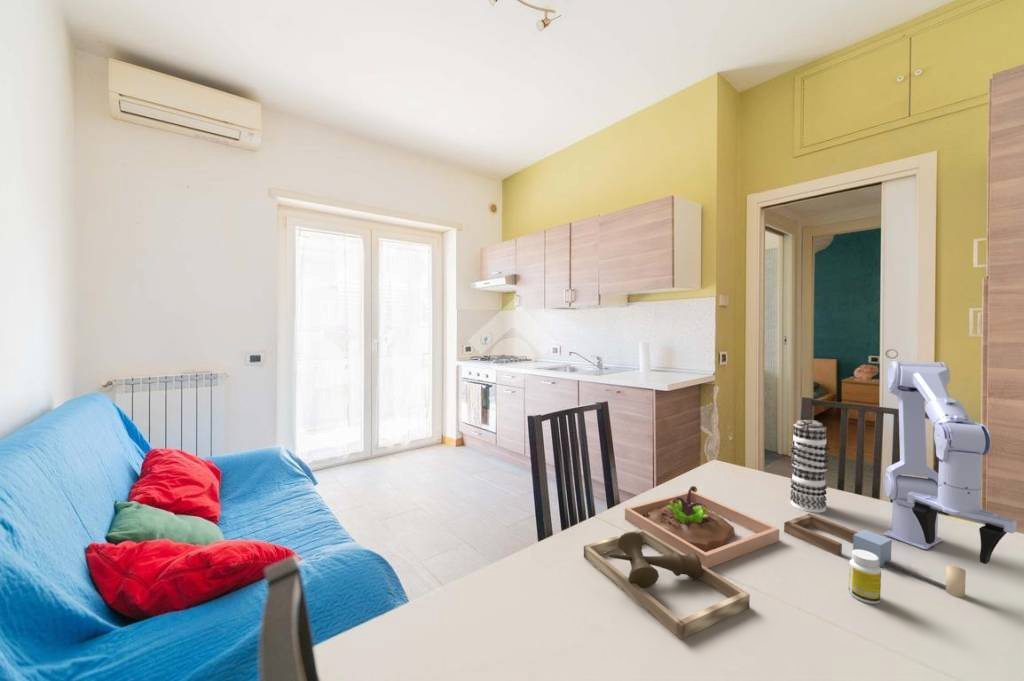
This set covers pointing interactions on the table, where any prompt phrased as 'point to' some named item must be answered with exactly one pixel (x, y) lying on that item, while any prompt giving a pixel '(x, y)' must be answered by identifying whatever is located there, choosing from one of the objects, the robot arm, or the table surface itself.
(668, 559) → the kendama
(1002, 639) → the table surface
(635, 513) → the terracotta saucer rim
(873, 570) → the supplement bottle
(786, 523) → the walnut lane
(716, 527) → the plant
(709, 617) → the beech serving tray
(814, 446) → the decorative candle
